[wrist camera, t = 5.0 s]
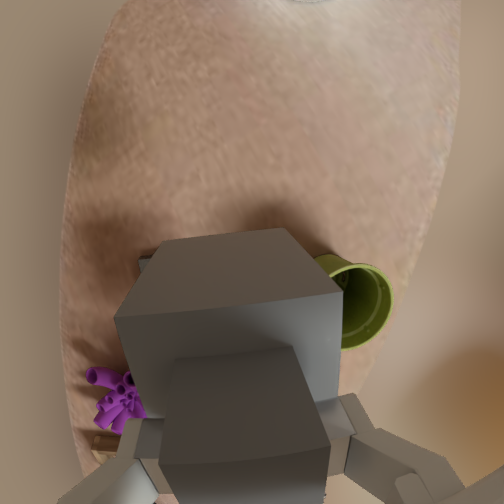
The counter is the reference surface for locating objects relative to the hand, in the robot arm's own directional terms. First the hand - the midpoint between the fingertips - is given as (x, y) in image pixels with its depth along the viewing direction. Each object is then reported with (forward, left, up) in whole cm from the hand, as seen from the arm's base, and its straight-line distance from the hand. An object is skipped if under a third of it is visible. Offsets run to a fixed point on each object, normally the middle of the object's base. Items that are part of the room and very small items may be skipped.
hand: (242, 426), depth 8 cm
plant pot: (+8, +11, -28) cm, 31 cm away
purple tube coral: (+23, -15, -28) cm, 39 cm away
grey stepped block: (0, 0, -10) cm, 10 cm away
